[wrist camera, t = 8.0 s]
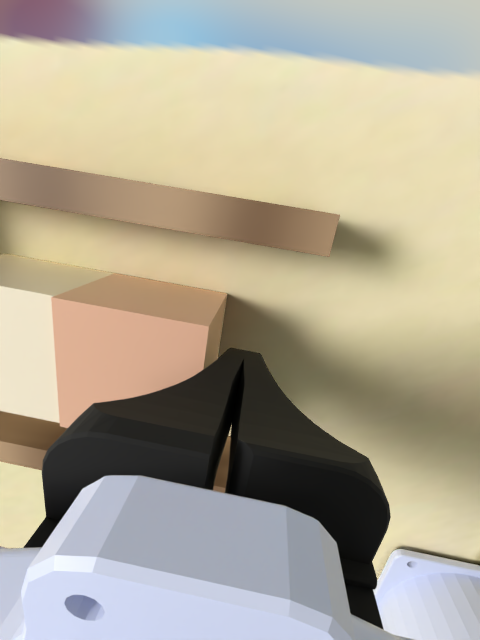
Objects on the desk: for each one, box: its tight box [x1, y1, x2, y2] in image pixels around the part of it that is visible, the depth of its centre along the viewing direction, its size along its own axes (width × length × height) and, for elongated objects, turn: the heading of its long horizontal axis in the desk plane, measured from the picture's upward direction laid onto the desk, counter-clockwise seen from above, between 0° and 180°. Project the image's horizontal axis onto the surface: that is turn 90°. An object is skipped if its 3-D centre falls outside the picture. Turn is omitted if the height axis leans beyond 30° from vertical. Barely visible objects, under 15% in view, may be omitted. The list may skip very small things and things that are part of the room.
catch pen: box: [0, 158, 340, 493], centre depth 12 cm, size 17×12×3 cm
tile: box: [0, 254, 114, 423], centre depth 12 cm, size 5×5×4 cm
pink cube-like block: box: [51, 273, 227, 428], centre depth 12 cm, size 5×5×4 cm
